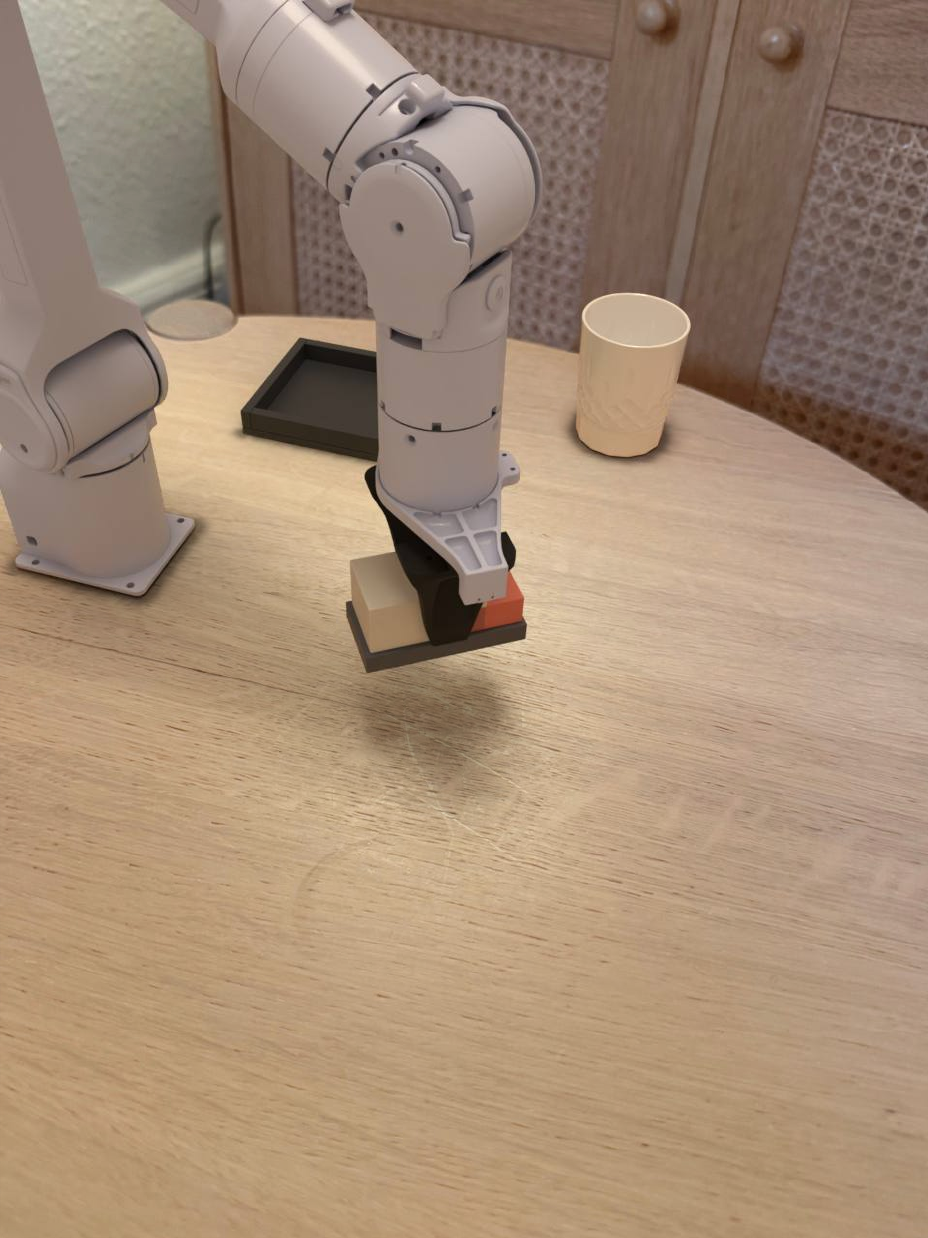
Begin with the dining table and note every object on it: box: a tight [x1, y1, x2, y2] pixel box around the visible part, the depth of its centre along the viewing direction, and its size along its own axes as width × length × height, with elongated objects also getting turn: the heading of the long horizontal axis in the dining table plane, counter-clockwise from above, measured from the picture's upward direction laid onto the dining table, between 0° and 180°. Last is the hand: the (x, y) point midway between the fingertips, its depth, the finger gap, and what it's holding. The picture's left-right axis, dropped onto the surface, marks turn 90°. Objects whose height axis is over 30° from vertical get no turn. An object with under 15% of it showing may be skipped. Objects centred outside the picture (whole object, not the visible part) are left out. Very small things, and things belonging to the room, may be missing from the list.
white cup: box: [575, 292, 692, 458], centre depth 82 cm, size 8×8×10 cm
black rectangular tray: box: [240, 337, 379, 462], centre depth 86 cm, size 16×12×2 cm
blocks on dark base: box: [345, 551, 528, 674], centre depth 58 cm, size 9×4×4 cm, turn 108°
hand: (435, 610), depth 59 cm, fingers closed on blocks on dark base, 4 cm apart
